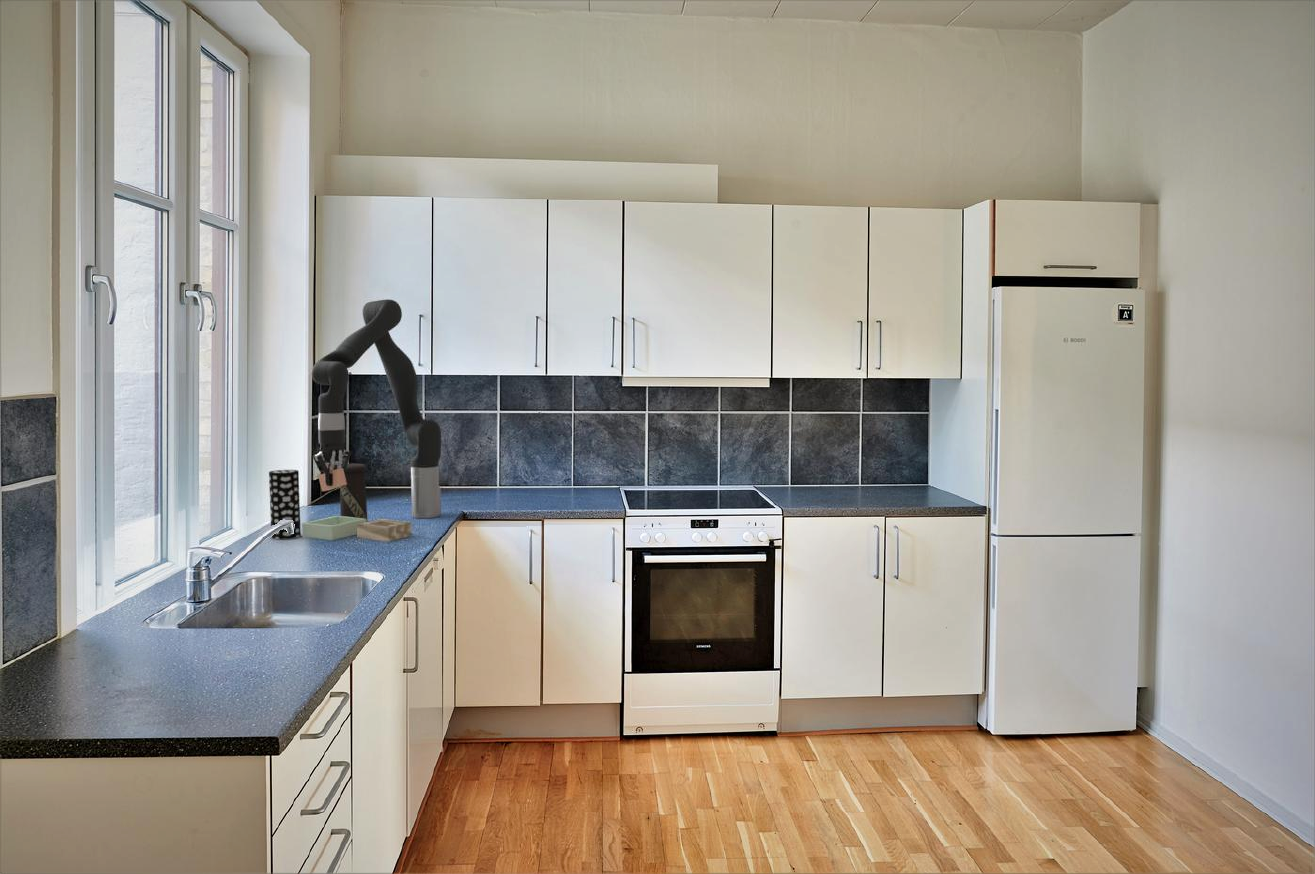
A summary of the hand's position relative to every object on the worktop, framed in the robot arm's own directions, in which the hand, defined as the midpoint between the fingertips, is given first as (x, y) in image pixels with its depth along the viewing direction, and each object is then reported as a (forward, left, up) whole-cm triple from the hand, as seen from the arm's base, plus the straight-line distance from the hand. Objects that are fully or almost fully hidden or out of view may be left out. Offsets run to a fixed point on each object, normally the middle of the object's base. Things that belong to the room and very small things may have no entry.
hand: (333, 484), depth 277 cm
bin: (0, 0, -16) cm, 16 cm away
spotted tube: (+6, -14, -16) cm, 22 cm away
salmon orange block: (0, -4, 0) cm, 4 cm away
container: (-18, -10, -16) cm, 26 cm away
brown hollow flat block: (-4, +16, -16) cm, 23 cm away
